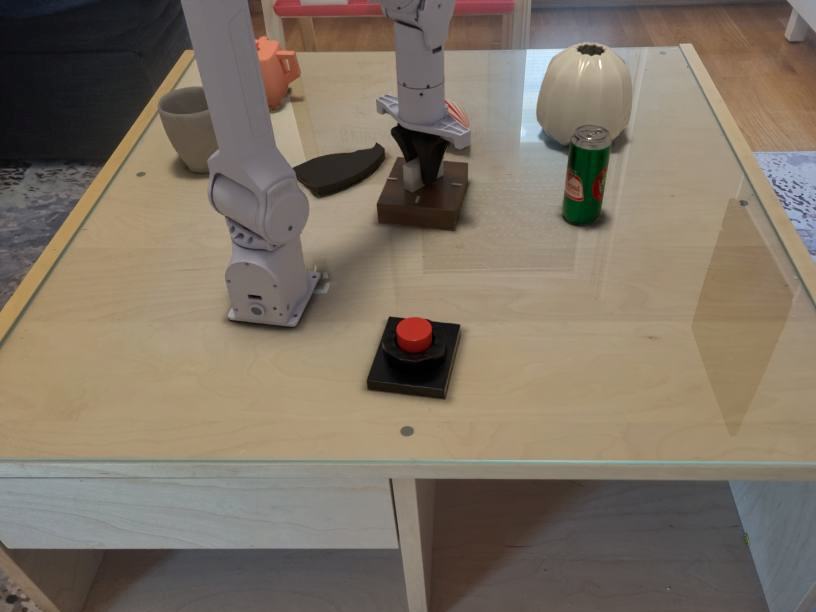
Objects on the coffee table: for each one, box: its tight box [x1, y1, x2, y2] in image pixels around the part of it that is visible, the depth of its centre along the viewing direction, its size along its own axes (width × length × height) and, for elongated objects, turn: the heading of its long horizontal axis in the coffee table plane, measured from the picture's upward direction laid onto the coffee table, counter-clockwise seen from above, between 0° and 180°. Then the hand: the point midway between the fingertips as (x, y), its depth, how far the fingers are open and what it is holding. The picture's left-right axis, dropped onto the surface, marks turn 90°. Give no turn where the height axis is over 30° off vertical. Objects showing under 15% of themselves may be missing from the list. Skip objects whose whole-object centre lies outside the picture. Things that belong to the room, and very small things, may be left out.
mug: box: [156, 85, 219, 174], centre depth 106 cm, size 12×9×10 cm
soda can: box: [561, 124, 613, 226], centre depth 94 cm, size 5×5×12 cm
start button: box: [396, 316, 432, 353], centre depth 77 cm, size 4×4×2 cm
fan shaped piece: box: [292, 142, 386, 198], centre depth 106 cm, size 8×14×2 cm, turn 125°
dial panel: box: [376, 156, 469, 231], centre depth 100 cm, size 12×10×3 cm
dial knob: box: [403, 157, 444, 193], centre depth 98 cm, size 6×2×4 cm, turn 138°
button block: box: [366, 316, 462, 399], centre depth 78 cm, size 10×8×3 cm
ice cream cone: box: [445, 97, 470, 129], centre depth 114 cm, size 6×6×20 cm
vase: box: [535, 41, 633, 147], centre depth 110 cm, size 14×14×13 cm
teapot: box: [255, 35, 302, 110], centre depth 120 cm, size 12×12×10 cm
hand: (424, 178), depth 99 cm, fingers closed on dial knob, 2 cm apart
